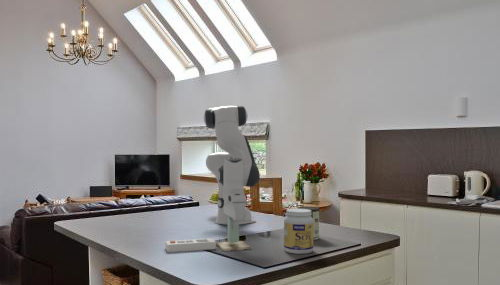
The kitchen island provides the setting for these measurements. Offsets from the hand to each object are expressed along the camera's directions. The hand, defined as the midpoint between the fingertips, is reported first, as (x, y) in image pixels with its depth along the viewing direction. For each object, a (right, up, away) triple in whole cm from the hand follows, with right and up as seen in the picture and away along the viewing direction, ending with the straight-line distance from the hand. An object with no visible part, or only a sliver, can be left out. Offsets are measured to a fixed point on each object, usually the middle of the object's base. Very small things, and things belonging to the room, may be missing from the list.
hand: (233, 228), depth 196 cm
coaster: (0, -8, 0) cm, 8 cm away
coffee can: (+35, -9, +20) cm, 41 cm away
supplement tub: (+27, -9, -6) cm, 29 cm away
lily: (+28, -9, +41) cm, 50 cm away
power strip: (-18, -8, -4) cm, 20 cm away
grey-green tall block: (0, -6, 0) cm, 6 cm away
